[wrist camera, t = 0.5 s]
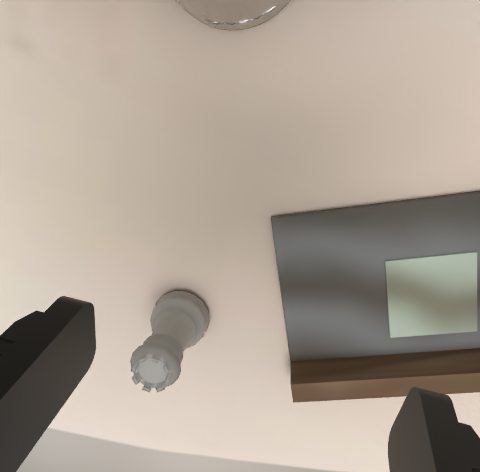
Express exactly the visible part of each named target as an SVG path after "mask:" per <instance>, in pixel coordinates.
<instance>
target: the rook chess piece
mask: <svg viewBox="0 0 480 472" xmlns="http://www.w3.org/2000/svg"><path fill="white" fill-rule="evenodd" d="M208 324H209V314H208V310H207V308H206V307H205V305H204V303H203V302H202V301H201V300H200V299H199V298H197V297H196V296H195V295H193V294H190V293H188V292H185V291H172V292H170V293H168V294H165V295H163V296H162V297H161V298H160V299H159V300H158V302H157V303H156V306H155V307H154V309H153V312H152V316H151V327H152V331H153V333H152V336H150V337H148V338H147V339H146V340H145V341H144V343H143V345H141V346H139V347H138V348H137V349H136V350H135V351H134V352H133V354H132V357H131V361H130V362H131V371H132V372H133V373H134V375H133V377H132V379H133V381H134V383H135V384H138V383H139V382H141V383H143V384H144V387H143V389H142V390H145V391H148V392H150V390H151V388H156V390H157V392H159V391H162V390H164V389H165V387H167V386H169V385H172V384H173V383H174V382H175V381H176V380H177V379H178V378H179V375H180V372H181V366H180V363H181V362H182V359H183V351H184V350H185V349H186V348H188V347H191V346H193V345H195V344H196V343H197V342H198V341H199V340H200V339H201V338H202V337H203V335H204V333H205V332H206V330H207V327H208Z"/></svg>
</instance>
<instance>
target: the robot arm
mask: <svg viewBox="0 0 480 472" xmlns="http://www.w3.org/2000/svg"><path fill="white" fill-rule="evenodd" d="M176 1H177V2H178V3H179V4H180V5H181V6H182V7H183V8H184V9H185V10H186V11H187V12H188V13H189V14H191V15H192V16H194V17H195V18H197V19H198V20H199V21H201V22H203V23H205V24H208V25H210V26H213V27H215V28H221V29H227V30H237V29H247V28H250V27H253V26H256V25H259V24H261V23H263V22H265V21H266V20H268V19H270V18H272V17H273V16H275V15H276V14H277V13H278V12H279V11H280V10H281V9H282V8H284V7H285V6H286V5H287V3H288V2H289V1H290V0H176ZM95 350H96V338H95V316H94V306H93V304H92V303H89V302H85V301H81V300H78V299H74V298H70V297H66V296H62V297H60V298H58V299H57V300H56V301H55V302H54V303H53V304H52V305H51V306H50V307H49V308H48V309H47V310H46V311H45V312H40V311H35V312H33V313H31V314H29V315H27V316H25V317H23V318H21V319H19V320H17V321H16V322H14V323H13V324H12V325H11V326H10V327H9V328H8V329H7V330H6V331H5V332H4V333H3V334H2V335H1V336H0V472H16V471H17V470H18V468H19V467H20V465H21V464H22V463H23V461H24V460H25V458H26V457H27V455H28V454H29V453H30V451H31V450H32V448H33V447H34V446H35V444H36V443H37V441H38V440H39V439H40V437H41V436H42V434H43V433H44V431H45V430H46V429H47V427H48V426H49V425H50V423H51V422H52V420H53V419H54V418H55V416H56V415H57V413H58V412H59V410H60V409H61V408H62V406H63V405H64V403H65V402H66V401H67V399H68V398H69V396H70V395H71V394H72V392H73V391H74V389H75V388H76V387H77V385H78V384H79V382H80V381H81V380H82V378H83V377H84V375H85V374H86V373H87V371H88V369H89V368H90V366H91V364H92V361H93V358H94V355H95ZM388 459H389V468H390V472H480V438H479V437H478V435H477V434H476V433H475V431H474V430H473V428H472V427H471V426H470V425H466V424H463V423H459V422H458V420H457V417H456V413H455V410H454V406H453V403H452V400H451V398H450V397H449V396H448V395H445V394H441V393H437V392H433V391H429V390H426V389H422V388H418V387H413V388H411V390H410V391H409V393H408V395H407V397H406V399H405V401H404V403H403V405H402V407H401V409H400V411H399V413H398V415H397V418H396V420H395V422H394V424H393V426H392V428H391V431H390V435H389V441H388Z"/></svg>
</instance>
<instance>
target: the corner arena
mask: <svg viewBox="0 0 480 472" xmlns="http://www.w3.org/2000/svg"><path fill="white" fill-rule="evenodd" d="M271 222H272V230H273V237H274V244H275V251H276V259H277V266H278V273H279V280H280V288H281V295H282V302H283V309H284V317H285V324H286V331H287V338H288V346H289V353H290V360H291V390H292V397H293V402H309V401H327V400H345V399H364V398H382V397H400V396H407V395H408V393H409V391H410V390H411V388H413V387H418V388H422V389H426V390H429V391H433V392H437V393H441V394H455V393H473V392H480V191H476V192H468V193H459V194H451V195H443V196H435V197H427V198H419V199H411V200H403V201H395V202H386V203H378V204H370V205H362V206H354V207H346V208H338V209H330V210H322V211H313V212H305V213H297V214H289V215H281V216H273V217H271Z"/></svg>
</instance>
